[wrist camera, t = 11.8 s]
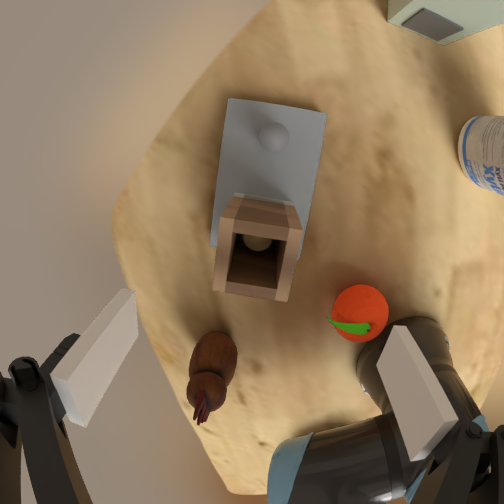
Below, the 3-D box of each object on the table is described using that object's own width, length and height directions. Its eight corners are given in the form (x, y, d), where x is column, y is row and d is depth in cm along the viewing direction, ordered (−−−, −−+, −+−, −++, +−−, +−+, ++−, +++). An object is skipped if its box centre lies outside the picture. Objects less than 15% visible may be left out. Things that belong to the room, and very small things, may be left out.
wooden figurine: (202, 319, 39) (174, 404, 25) (244, 331, 39) (233, 420, 25) (193, 354, 42) (167, 436, 28) (231, 365, 42) (217, 450, 28)
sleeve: (282, 255, 33) (287, 302, 24) (227, 246, 33) (212, 290, 24) (292, 201, 31) (303, 230, 22) (235, 192, 31) (220, 216, 21)
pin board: (297, 253, 35) (304, 280, 28) (212, 240, 35) (199, 264, 28) (323, 115, 29) (338, 109, 23) (230, 100, 29) (220, 90, 23)
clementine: (315, 320, 38) (323, 355, 32) (324, 272, 36) (335, 302, 29) (371, 321, 38) (387, 354, 31) (384, 276, 36) (404, 304, 29)
